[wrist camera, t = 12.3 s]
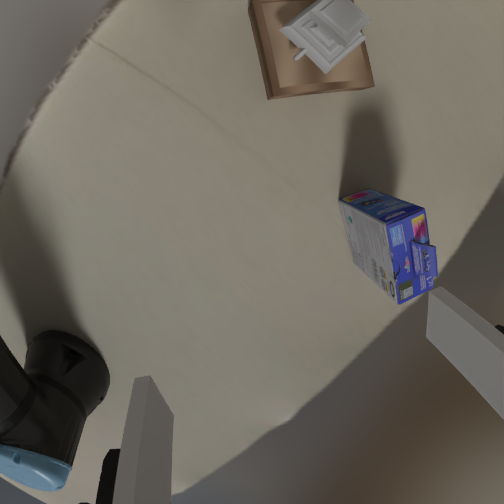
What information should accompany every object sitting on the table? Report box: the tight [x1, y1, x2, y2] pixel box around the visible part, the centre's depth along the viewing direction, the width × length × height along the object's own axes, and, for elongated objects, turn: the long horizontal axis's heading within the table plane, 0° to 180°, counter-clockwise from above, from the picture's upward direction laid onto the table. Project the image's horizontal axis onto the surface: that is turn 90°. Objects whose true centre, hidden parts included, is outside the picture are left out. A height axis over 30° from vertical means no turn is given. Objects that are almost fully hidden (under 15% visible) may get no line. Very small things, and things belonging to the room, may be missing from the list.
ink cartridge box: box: [339, 189, 438, 304], centre depth 35 cm, size 10×6×14 cm, turn 20°
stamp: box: [279, 0, 371, 74], centre depth 25 cm, size 9×7×8 cm
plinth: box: [248, 0, 374, 100], centre depth 31 cm, size 12×12×4 cm
